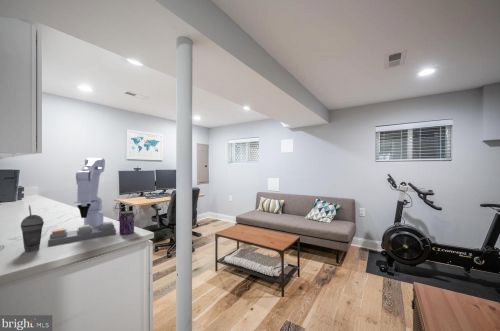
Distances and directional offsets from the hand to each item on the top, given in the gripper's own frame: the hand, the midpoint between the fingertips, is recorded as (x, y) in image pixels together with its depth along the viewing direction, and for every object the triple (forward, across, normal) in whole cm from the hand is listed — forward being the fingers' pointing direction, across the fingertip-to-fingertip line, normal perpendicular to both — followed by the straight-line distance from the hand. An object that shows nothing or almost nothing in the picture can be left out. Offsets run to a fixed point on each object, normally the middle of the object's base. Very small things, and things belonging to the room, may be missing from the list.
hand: (83, 217), depth 111 cm
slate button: (+6, +3, +10) cm, 12 cm away
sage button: (+6, +3, 0) cm, 7 cm away
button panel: (+10, +3, 0) cm, 10 cm away
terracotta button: (+6, +3, -10) cm, 12 cm away
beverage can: (+10, +11, +19) cm, 24 cm away
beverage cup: (+10, +11, -18) cm, 23 cm away
